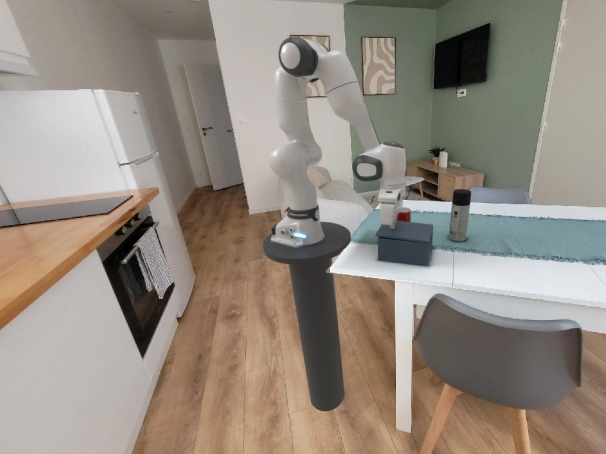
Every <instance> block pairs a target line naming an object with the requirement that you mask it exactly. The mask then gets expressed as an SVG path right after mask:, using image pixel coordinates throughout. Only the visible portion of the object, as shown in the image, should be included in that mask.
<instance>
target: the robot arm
mask: <svg viewBox="0 0 606 454" xmlns="http://www.w3.org/2000/svg"><path fill="white" fill-rule="evenodd" d="M277 56H278V61H279V64H280V66H279V67H278V68H276V69H275V71H274V72H273V73H274V74H273V96H274V97H273V98H274V105H275V112H276V114H275V115H276V120H277V125H278V128H280V129H281V130H282V131H283V133H284V134H285V137H286V139H287V141H288V143H286V144H282V145H280V146H279V147H277V148H275V149H273V150H272V151H271V153H270V155H269V159H268V162H269V166H270V168H271V171H273V173H274V174H275V175H277V176H278V177H280V179H281V180H282V182H283V184H284V186H285V189H286V193H287V199H288V205H289V206H288V207H286V208H285V209H284V214H286V213H287V214H286V216H285V217H284V218H282V219H281V220H280V221H279V222H278V223H275V224H274V225H273V226H272V227H271V228H270V230H271V233H272V234H274V235H273V236H272V237H271V241H272V242H276V243H280V244H284V245H288V246H292V247H296V248H298V247H302V246H304V245H310V244H314V243H317V242H319V241H321V240H322V239H324V237H325V235H324V233H323V230H322V227H321V223H320V222H321V219H320V207H319V203H318V196H317V189H316V185H315V184H314V183H313V182H312V181H310V178H309V176H308V172H307V171H308V170H310V169H313V168H315V167H316V166H317V165H318V164H319V163H320V162H321V160H322V159H323V158H322V157H323V151H322V147H321V146H320V145H319V144H318V142H317V141H316V140H315V138H314V134H313V132H312V128H311V124H310V116H309V108H308V107H309V106H308V99H307V85H308V83H312V84H313V83H315V82H317V81H320V82H321V83H322V86H323V90H324V92H325V95H326V98H327V101H328V103H329V106H330V107H331V109H332V111H333V113H334V114H335V115H336V116H337V117H339V118H340V119H342V120H344V121H346V122H347V123H349V124H350V125H351V126H352V127H353V128H354V129H355V131H356V133H357V136H358V138H359V141H360V143H361V146H362V148H363V151H364V152H362V153H361V154H358V155H357V156H356V157H355V158H354V160H353V161H352V165H351V168H352V169H351V170H352V173H353V175H354V176H355V178H356V179H357V180H359V181H361V182H373V181H379V192H378V196H377V202H378V203H379V217H380V223H381V225H382V224H383V225H390V229H394V228H395V226H396V220H397V215H398V214H399V212H400V210H401V209H402V207H403V206H404V198H405V197H406V195H407V180H406V172H407V156H406V155H407V154H406V149H405V147H404V145H402V144H401V143H399V142H395V141H382V142H381V141H380V139H379V136H378V134H377V130H376V129H375V126H374V124H373V121H372V118H371V116H370V114H369V111H368V107H367V106H366V102H365V100H364V96H363V93H362V89H361V87H360V83H359V81H358V78H357V75H356V72H355V70H354V67H353V65H352V64H351V61H350V59H349V57H348V55H347V54H346V53H345V52H343V51H342V50H338V49H334V50H330V49H329V48H328V47H327V46H326V45H324V44H323V43H319V42H317V41H315V40H313V39H310V38H302V37H300V36H290V37H287V38H285V39H284V40H283V41H282V42H281V43H280V45H279V49H278V55H277Z"/></svg>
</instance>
